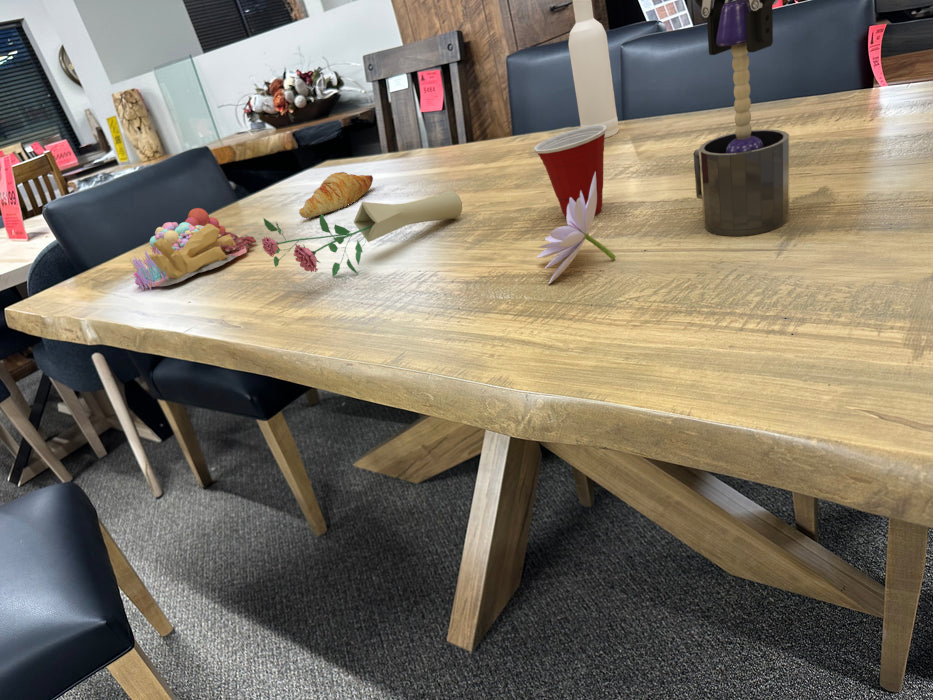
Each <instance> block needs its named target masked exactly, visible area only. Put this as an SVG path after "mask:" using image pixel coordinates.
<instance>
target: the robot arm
mask: <svg viewBox="0 0 933 700" xmlns="http://www.w3.org/2000/svg"><path fill="white" fill-rule="evenodd" d="M778 1H779V0H749V3H750V7H751V9H752V11H750V12H747V13H746V41H747V51H748V53H756V52H758V51H761V50H764V49H766V48H769V47H771V46H772V45H773V43H774V35H773V34H774V23H773V20H774V19H773V18H774V17H773V15H774V14H773V13H774V12H773V11H774V9H773V6H774V5H776V4H777V3H778ZM694 2H695V3H696V4H697V6H698V7H699V8H700V9H701V16H702V17H703V18H706V27H707V46H708V55H709V56H715V55H718V54H721V53H724V52H727V51H731V47H732V45H731V46H718V45H717V44H716V39H717V33H718V27H719V22H720V16H721V11H722V7H723V5H724V4H725V3H727V2H729V0H694Z"/></svg>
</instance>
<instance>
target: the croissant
mask: <svg viewBox="0 0 933 700" xmlns="http://www.w3.org/2000/svg"><path fill="white" fill-rule="evenodd" d="M373 181H374V177H373V175H371V174H367V175H365V174H360V175H359V174H358V175H357V174H352V173H351V174H349V173H347V172H345V171H341V172H334V173H331V174H330V175H328V176H327V177H326V178H325V179H324V180H323V181H322V182H321V184H320V186H319V187H317V188H316V189H315V190H314V191H313V194H312V195H311V197H309V198H307V199H306V201H305V202H304V204H303V205H304V206H303V207H301V208H300V209H298V210H299V211H298V212H299V213H298V214H299V216H300V217H302V218H303V219H309V218H314V217H318V216H321V213H322V215H325V214H328V213H331V212H335V211H338V210H341V209H340V208H342V209H344V208H346V207H348V206H349V205H348V204H350V205H352V204H351V203H353V202H354V203H356V202H357V201H358V200H359V199H361V197H362V196H364V195H365V194H367V192H369V190H370V189H371V187H372V184H373ZM354 203H353V204H354ZM347 205H348V206H347ZM343 207H344V208H343ZM337 209H338V210H337Z"/></svg>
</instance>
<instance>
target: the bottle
mask: <svg viewBox="0 0 933 700" xmlns="http://www.w3.org/2000/svg"><path fill="white" fill-rule="evenodd" d="M572 7H573V13H574V20H575V23H574V24H573V27H572V28H571V30H570V32H569V36H568V51H569V57H570V63H571V71H572V77H573V84H574V89H575V90H574V91H575V97H576V103H577V104H576V105H577V110H578V117H579V123H580V125H579V126H580V127H579V128H582V127H587V126H592V125H604V126H607V128H606V132H605V136H604V139H607V138H610V137H613V136H615V135H617V134H618V132H619V130H620V129H619V120H618V115H617V114H618V113H617V107H616V98H615V92H614V84H613V77H612V76H613V75H612V68H611V67H612V66H611V59H610V52H609V51H610V50H609V44H608V43H609V42H608V36H607V32H606V30H605V28H604V25H603V24H602V23H601V22H599V20H597V19H595V18H594V11H593V3H592V0H572Z"/></svg>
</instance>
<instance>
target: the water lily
mask: <svg viewBox="0 0 933 700" xmlns="http://www.w3.org/2000/svg"><path fill="white" fill-rule="evenodd" d="M596 204H597V190H596V172H595V174H594V176H593V180H592V183H591V187H590V192H589V198H588V201H587V204H586V205H585V200H584V197H583V194H582V192H581V191H580V198H578V199H577V201H576V202H575V201H574V200H573V199H572V198H571V197H570V200H569V204H568V206H567V216H566V217H565V219H566V223H567V225H563V226H559V227H556V228H554V229H553V230H552V231H550V233H549V235H547V236H546V237H545V238H544V241H546V242H549V243H545V244H542V245H540V246H537V248H538V249H544V250H543V251H541V252H540V253H539V254H537V256H536V259H542V258H547V257H551V256H554V255H556V256H555V257H554V258H553V259H552V260H551V261H549V262H548V264H547V265H545V267H544V270H545V269H548V268H550V267H552V266H554V265H556V264H557V263H559V262H561V261H562V260H563V259H564V260H563V261H562V262H561V263H560V264H559V266H558V267H557V268H556V269H555V271H554V273H553V274H552V276H551V278H550V280H549V282H548V285H551V284H552V283H553V282H554V281H555V280H556V279H557V278H559V277H560V276H561V275H562V273H563V272H564V271H566V269H567V268H568V267H569V266H570V265H571V263H572V262H573V261H574V259H575V258H576V256H577V255H578V254H579V252H580V250H581V248H582V246H583V244H584V242H585V240H587V241H588V242H590V243H591V244H593V245H594V246H595V247H596V248H598V249H599V250H600V251H601V252H603V253H604V255H606V256H607V257H608V258H609V259H611V260H612V261H614V260H615V259H616V258H617V255H615V254H614V253H613V252H612V251H611V250H609V249H608V248H607V247H606V246H604V244H602V243H601V242H599V241H598V240H597V239H595V238H593V236H590V235H589V232H590V230H591V227H592V225H593V222H594V218H595V216H596V215H595V211H596Z"/></svg>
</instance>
